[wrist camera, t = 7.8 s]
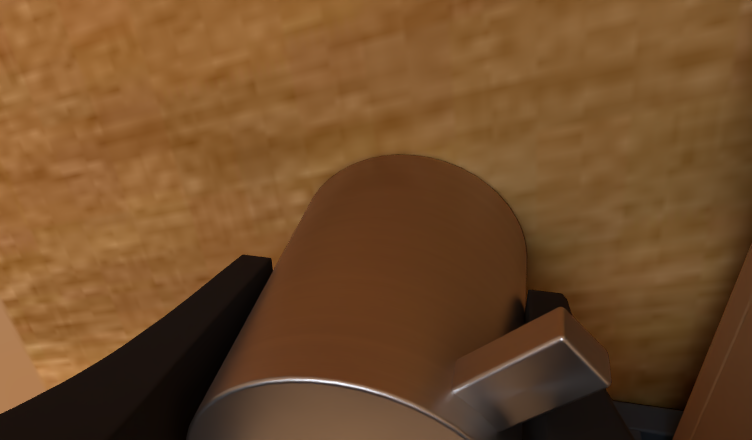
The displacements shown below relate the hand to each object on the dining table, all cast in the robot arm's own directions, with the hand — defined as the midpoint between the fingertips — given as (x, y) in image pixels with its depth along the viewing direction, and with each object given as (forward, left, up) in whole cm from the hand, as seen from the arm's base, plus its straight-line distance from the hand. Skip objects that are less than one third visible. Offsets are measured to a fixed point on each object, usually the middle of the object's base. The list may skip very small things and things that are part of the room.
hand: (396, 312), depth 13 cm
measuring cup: (0, 0, -2) cm, 2 cm away
